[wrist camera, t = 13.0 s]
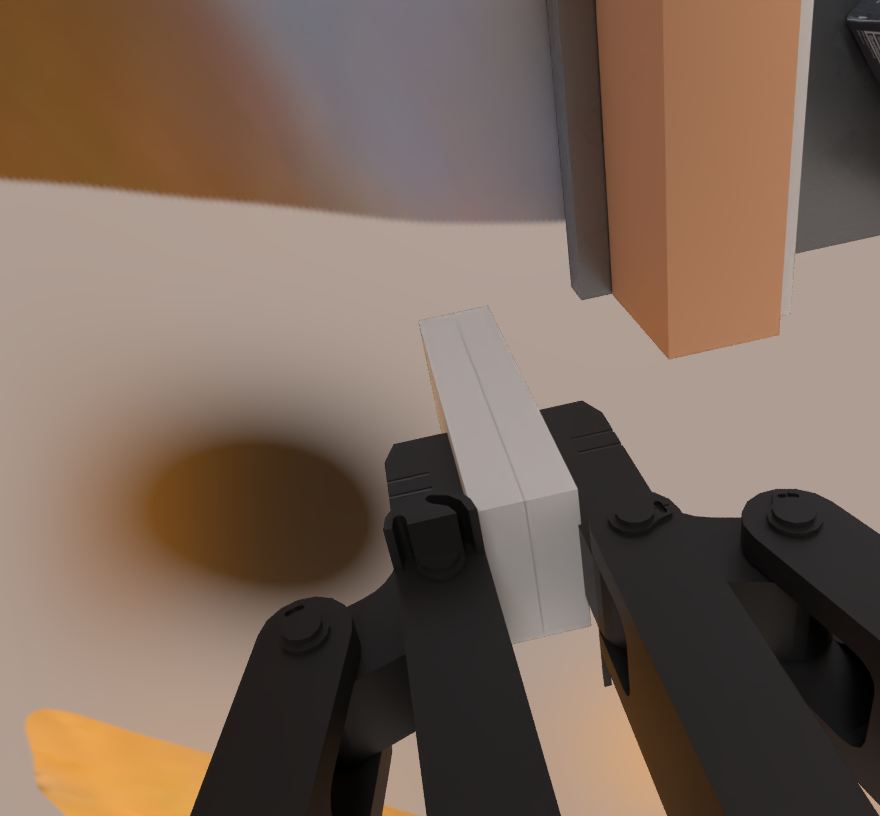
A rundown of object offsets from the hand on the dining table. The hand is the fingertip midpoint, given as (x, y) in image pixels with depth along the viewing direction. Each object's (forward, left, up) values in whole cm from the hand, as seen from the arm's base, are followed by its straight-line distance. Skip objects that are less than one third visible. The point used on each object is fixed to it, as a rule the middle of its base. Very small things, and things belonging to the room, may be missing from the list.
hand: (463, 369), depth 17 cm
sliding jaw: (+10, 0, -14) cm, 17 cm away
